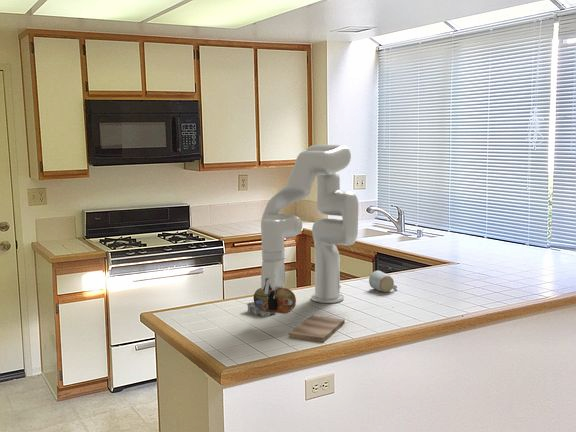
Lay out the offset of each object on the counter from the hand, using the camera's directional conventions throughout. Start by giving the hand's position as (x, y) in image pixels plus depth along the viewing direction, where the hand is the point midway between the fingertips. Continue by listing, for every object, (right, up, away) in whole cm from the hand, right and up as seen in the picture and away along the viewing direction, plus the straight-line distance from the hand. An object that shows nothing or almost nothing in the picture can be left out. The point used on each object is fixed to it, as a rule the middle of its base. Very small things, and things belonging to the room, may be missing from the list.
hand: (275, 307), depth 214 cm
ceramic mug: (+44, 0, +45) cm, 63 cm away
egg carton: (-5, -5, +17) cm, 18 cm away
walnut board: (+14, -7, -4) cm, 16 cm away
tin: (0, -1, +1) cm, 2 cm away
